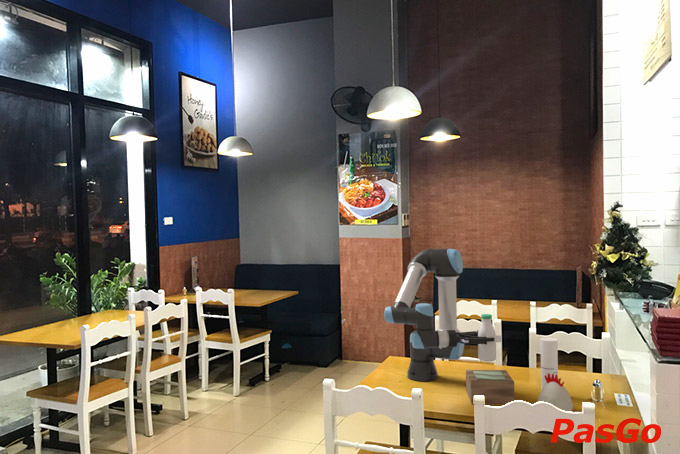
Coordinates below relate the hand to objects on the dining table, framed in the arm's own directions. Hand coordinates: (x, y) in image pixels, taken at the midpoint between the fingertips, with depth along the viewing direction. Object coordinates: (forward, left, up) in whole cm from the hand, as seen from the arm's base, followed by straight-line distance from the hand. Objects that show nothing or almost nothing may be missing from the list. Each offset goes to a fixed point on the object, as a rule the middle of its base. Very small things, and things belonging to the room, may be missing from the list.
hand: (497, 336), depth 242 cm
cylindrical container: (-3, +23, -27) cm, 36 cm away
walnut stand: (+1, -4, -27) cm, 27 cm away
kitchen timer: (+16, +20, -27) cm, 37 cm away
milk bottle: (+1, -5, -10) cm, 11 cm away
